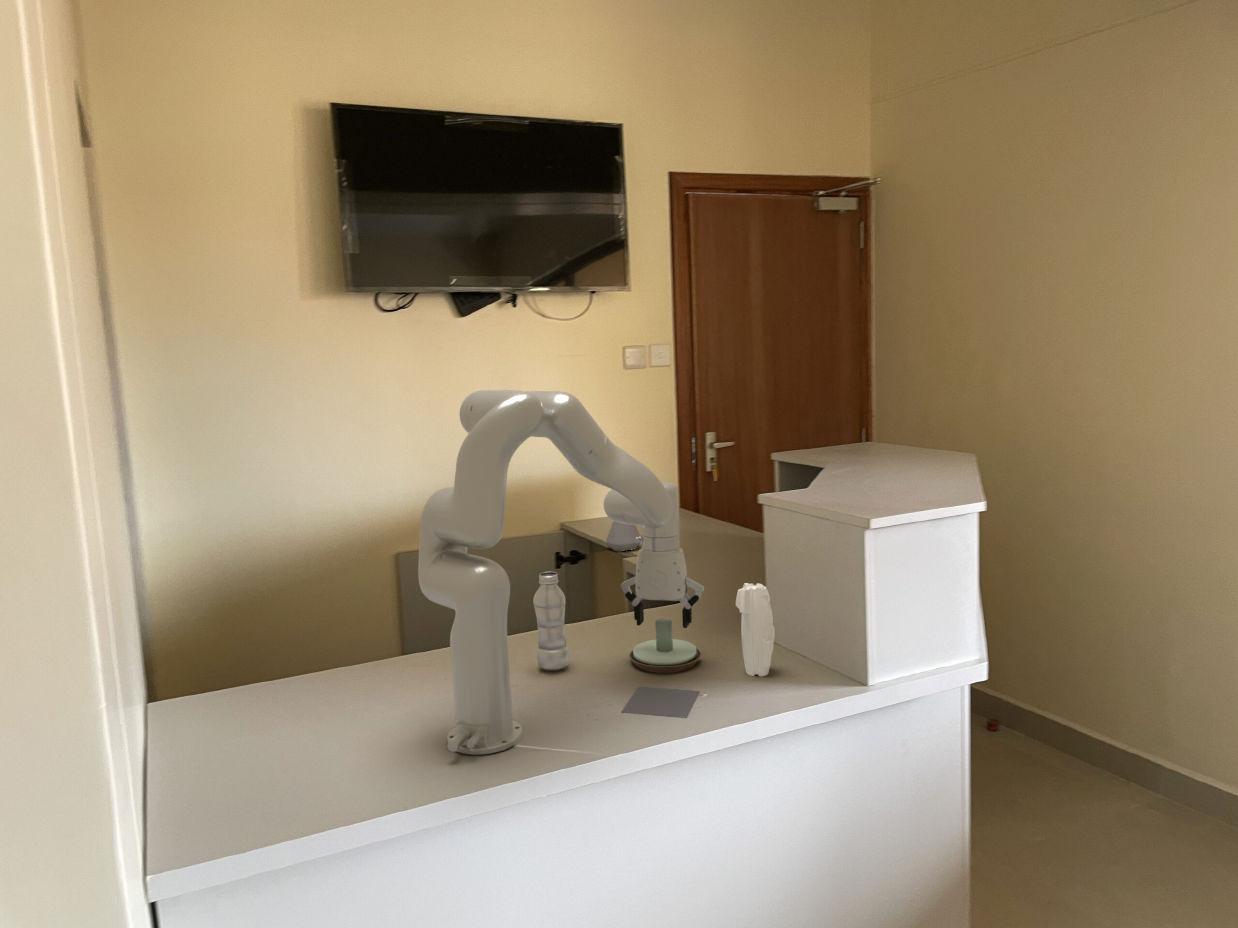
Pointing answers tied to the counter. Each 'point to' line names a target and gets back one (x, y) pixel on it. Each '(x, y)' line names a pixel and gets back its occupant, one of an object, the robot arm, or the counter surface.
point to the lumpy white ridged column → (756, 628)
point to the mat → (661, 702)
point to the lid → (664, 647)
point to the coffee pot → (622, 537)
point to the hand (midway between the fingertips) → (663, 624)
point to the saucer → (666, 668)
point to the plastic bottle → (550, 623)
